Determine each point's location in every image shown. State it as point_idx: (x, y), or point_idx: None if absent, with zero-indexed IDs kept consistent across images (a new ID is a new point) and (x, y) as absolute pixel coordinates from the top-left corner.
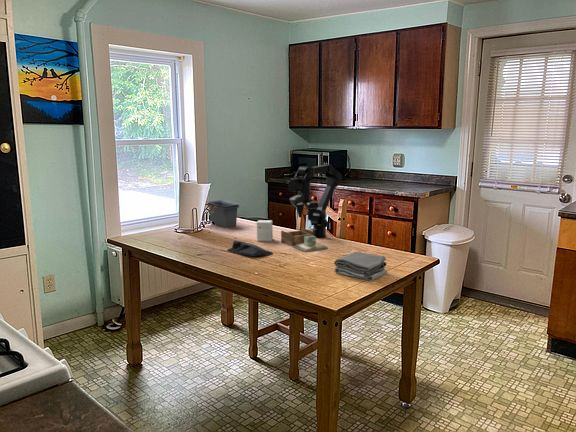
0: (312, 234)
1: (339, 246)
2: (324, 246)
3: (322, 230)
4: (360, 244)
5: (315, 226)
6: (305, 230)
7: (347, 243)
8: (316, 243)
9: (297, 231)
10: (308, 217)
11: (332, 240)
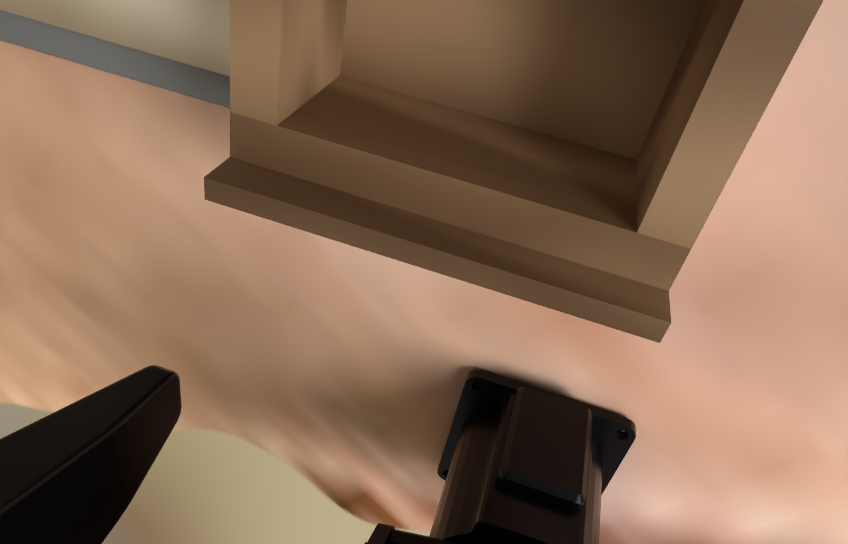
0: (235, 161)
1: (15, 210)
2: (3, 28)
3: (439, 505)
4: (23, 388)
5: (523, 538)
6: (476, 249)
7: (99, 358)
8: (104, 11)
9: (672, 155)
10: (50, 419)
11: (283, 377)
